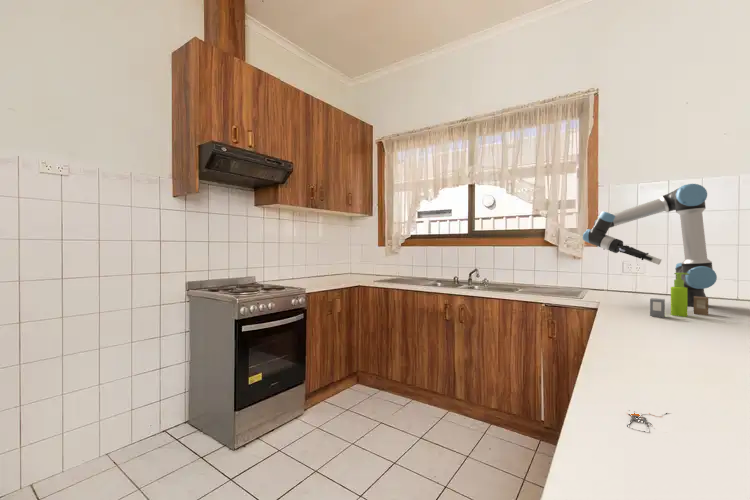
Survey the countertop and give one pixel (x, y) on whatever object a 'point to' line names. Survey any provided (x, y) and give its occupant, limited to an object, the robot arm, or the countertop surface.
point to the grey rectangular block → (657, 307)
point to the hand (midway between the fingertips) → (660, 262)
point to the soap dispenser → (679, 297)
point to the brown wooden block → (701, 305)
